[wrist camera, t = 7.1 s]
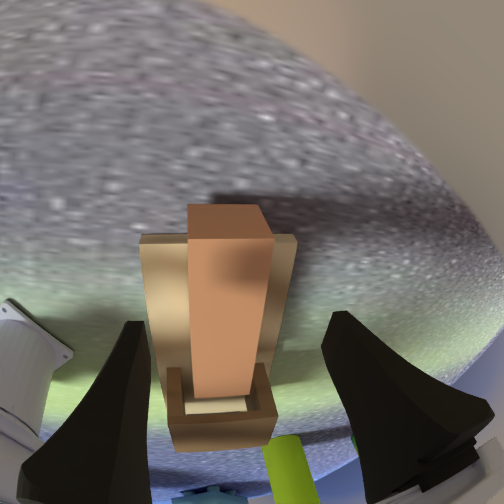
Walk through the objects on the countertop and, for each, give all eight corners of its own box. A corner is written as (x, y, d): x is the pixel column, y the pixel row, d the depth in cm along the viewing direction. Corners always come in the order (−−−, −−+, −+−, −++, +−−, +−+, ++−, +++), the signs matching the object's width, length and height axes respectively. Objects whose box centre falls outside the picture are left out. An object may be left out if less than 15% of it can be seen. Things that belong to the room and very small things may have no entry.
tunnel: (256, 397, 29) (267, 445, 25) (172, 402, 28) (175, 452, 23) (263, 362, 26) (278, 416, 22) (166, 367, 25) (167, 424, 20)
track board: (254, 418, 34) (256, 426, 33) (171, 423, 32) (172, 431, 31) (292, 233, 21) (297, 242, 20) (141, 234, 19) (139, 244, 18)
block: (240, 354, 25) (249, 394, 21) (191, 357, 24) (194, 398, 21) (257, 204, 18) (274, 238, 15) (187, 204, 17) (187, 239, 14)
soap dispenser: (270, 433, 38) (305, 562, 21) (307, 435, 40) (345, 549, 24) (248, 449, 40) (276, 567, 23) (284, 450, 43) (315, 557, 26)
